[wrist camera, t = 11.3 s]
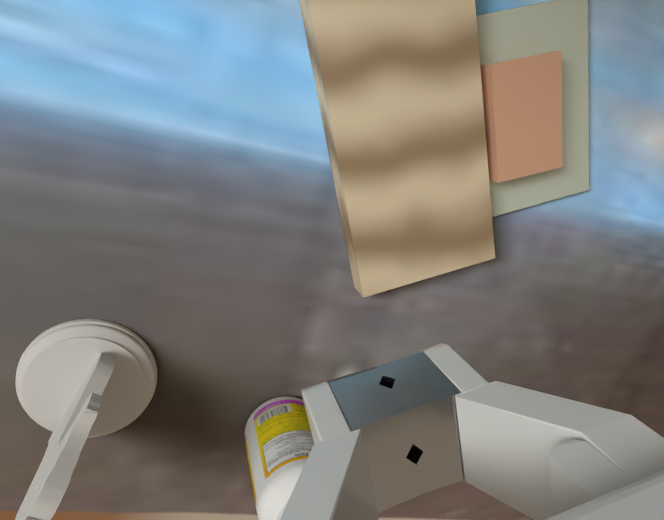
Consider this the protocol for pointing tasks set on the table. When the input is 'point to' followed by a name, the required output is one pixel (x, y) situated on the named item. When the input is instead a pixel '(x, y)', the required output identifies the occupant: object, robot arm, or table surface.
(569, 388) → the table surface
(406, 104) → the beige flat block
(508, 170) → the tile
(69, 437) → the chess piece
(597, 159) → the table surface
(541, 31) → the mat
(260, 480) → the supplement bottle
